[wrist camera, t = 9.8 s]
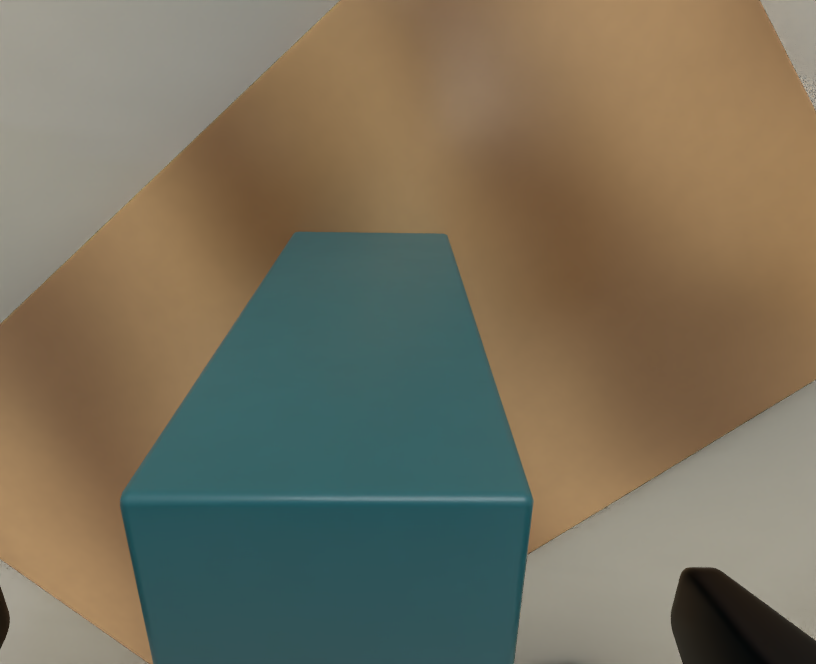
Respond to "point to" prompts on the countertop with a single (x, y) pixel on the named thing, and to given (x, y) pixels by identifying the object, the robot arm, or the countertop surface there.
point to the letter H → (337, 474)
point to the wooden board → (471, 244)
